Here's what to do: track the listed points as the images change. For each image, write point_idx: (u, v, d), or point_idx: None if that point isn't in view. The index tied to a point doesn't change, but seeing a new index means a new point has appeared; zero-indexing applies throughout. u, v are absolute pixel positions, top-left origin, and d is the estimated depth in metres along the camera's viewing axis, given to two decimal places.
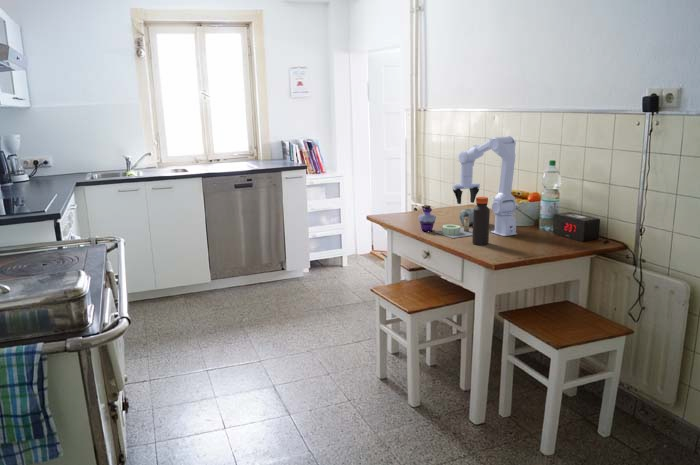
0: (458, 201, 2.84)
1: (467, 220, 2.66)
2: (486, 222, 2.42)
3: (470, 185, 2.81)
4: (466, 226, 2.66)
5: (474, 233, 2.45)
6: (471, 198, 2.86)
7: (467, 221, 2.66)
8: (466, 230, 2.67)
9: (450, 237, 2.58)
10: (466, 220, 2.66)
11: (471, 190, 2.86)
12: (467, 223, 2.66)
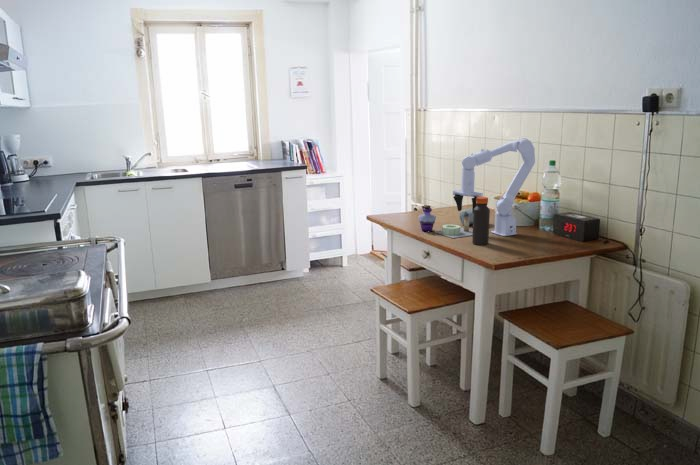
0: None
1: (467, 220, 2.66)
2: (486, 222, 2.42)
3: (465, 193, 2.61)
4: (466, 226, 2.66)
5: (474, 233, 2.45)
6: None
7: (467, 221, 2.66)
8: (466, 230, 2.67)
9: (450, 237, 2.58)
10: (466, 220, 2.66)
11: None
12: (467, 223, 2.66)
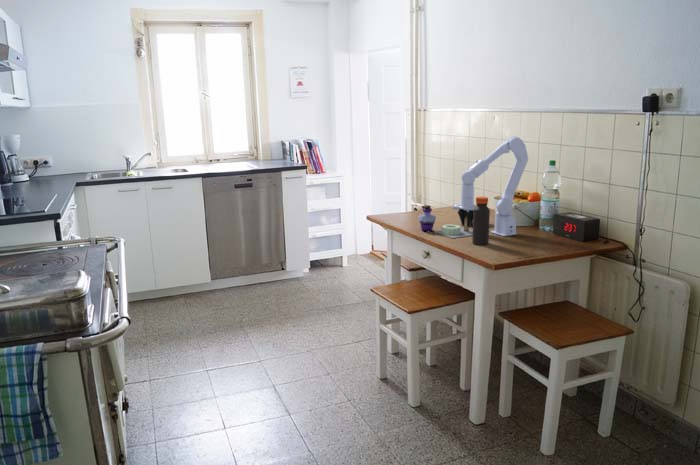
0: None
1: None
2: (486, 222, 2.42)
3: (465, 207, 2.63)
4: (466, 226, 2.66)
5: (474, 233, 2.45)
6: None
7: None
8: (466, 230, 2.67)
9: (450, 237, 2.58)
10: (466, 220, 2.66)
11: None
12: None
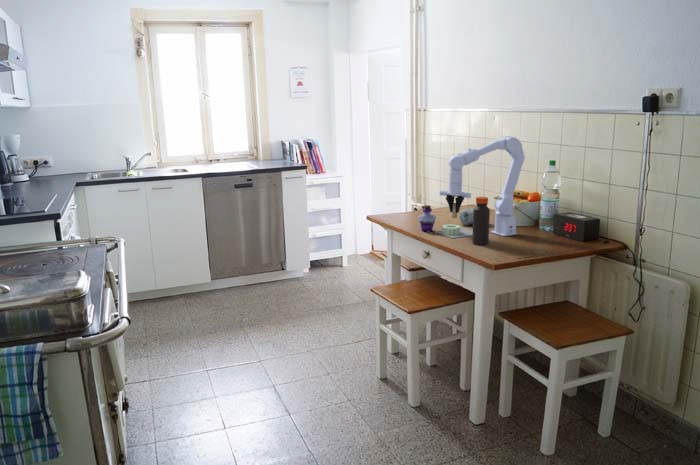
0: None
1: (455, 206, 2.62)
2: (486, 222, 2.42)
3: (454, 193, 2.59)
4: (454, 212, 2.63)
5: (474, 233, 2.45)
6: None
7: (455, 207, 2.62)
8: (454, 216, 2.63)
9: (450, 237, 2.58)
10: (454, 206, 2.62)
11: None
12: (455, 209, 2.63)
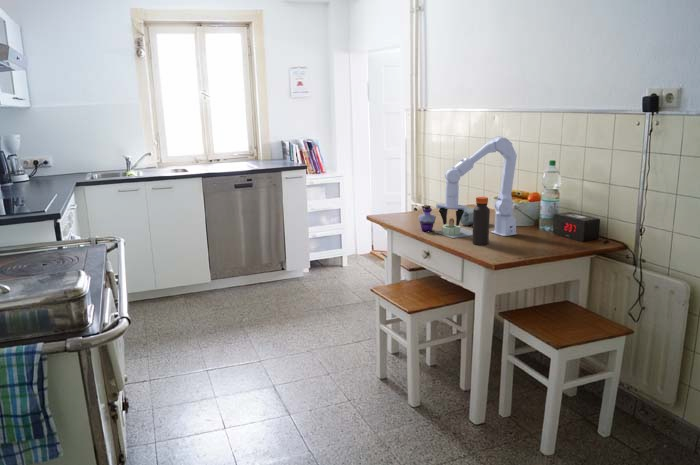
0: None
1: (452, 221, 2.63)
2: (486, 222, 2.42)
3: (450, 206, 2.60)
4: (451, 227, 2.64)
5: (474, 233, 2.45)
6: None
7: (452, 222, 2.63)
8: None
9: (450, 237, 2.58)
10: (451, 221, 2.63)
11: None
12: (452, 224, 2.64)
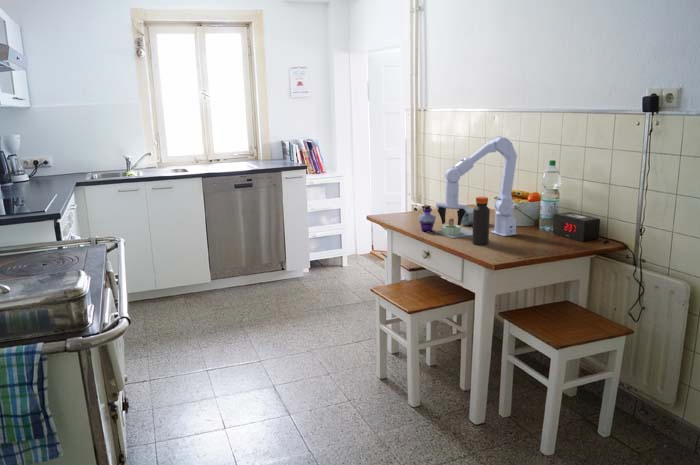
0: None
1: (452, 221, 2.63)
2: (486, 222, 2.42)
3: (450, 205, 2.60)
4: (451, 227, 2.64)
5: (474, 233, 2.45)
6: None
7: (452, 222, 2.63)
8: None
9: (450, 237, 2.58)
10: (451, 221, 2.63)
11: None
12: (452, 224, 2.64)
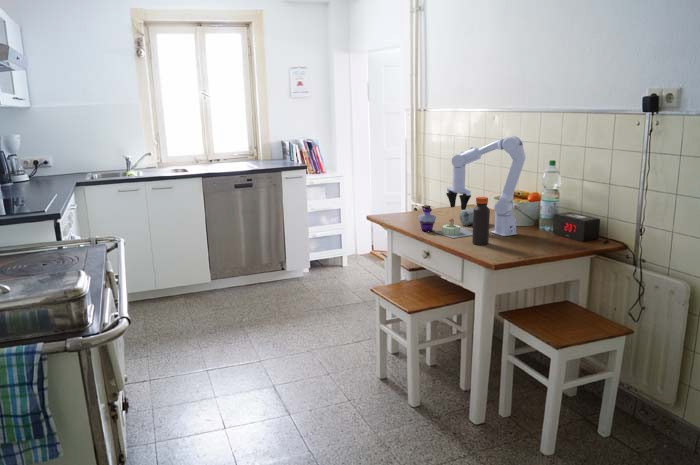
0: None
1: (452, 221, 2.63)
2: (486, 222, 2.42)
3: (454, 189, 2.69)
4: (451, 227, 2.64)
5: (474, 233, 2.45)
6: None
7: (452, 222, 2.63)
8: None
9: (450, 237, 2.58)
10: (451, 221, 2.63)
11: None
12: (452, 224, 2.64)
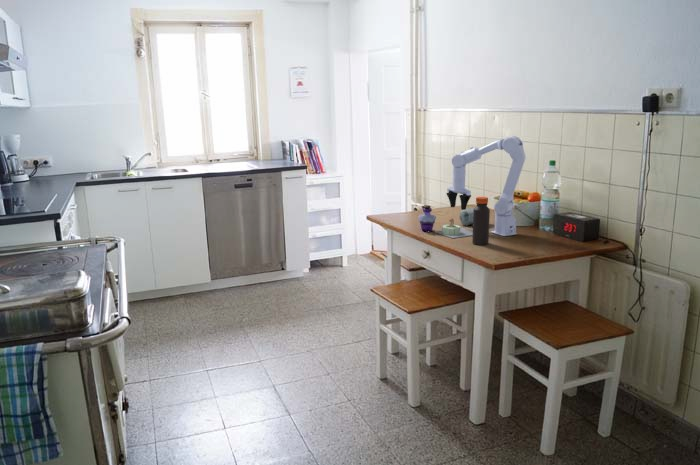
0: None
1: (452, 221, 2.63)
2: (486, 222, 2.42)
3: (455, 189, 2.69)
4: (451, 227, 2.64)
5: (474, 233, 2.45)
6: None
7: (452, 222, 2.63)
8: None
9: (450, 237, 2.58)
10: (451, 221, 2.63)
11: None
12: (452, 224, 2.64)
